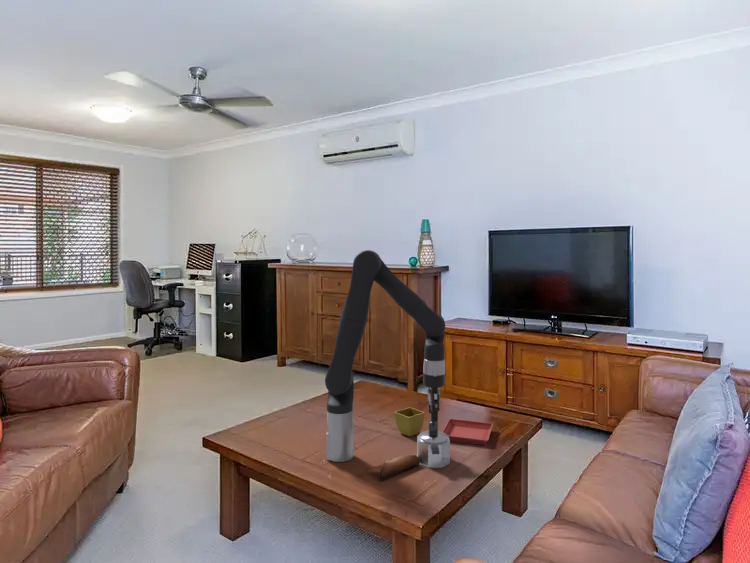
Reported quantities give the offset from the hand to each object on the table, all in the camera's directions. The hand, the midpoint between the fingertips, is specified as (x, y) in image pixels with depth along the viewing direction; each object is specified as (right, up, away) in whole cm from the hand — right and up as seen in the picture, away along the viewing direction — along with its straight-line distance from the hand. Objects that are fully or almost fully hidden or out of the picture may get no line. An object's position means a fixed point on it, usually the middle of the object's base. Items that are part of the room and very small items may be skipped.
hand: (433, 417), depth 175 cm
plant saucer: (+17, -14, +24) cm, 32 cm away
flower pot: (-6, -14, +26) cm, 30 cm away
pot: (0, -16, +1) cm, 16 cm away
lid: (0, -9, +1) cm, 9 cm away
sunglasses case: (-14, -17, -5) cm, 23 cm away
